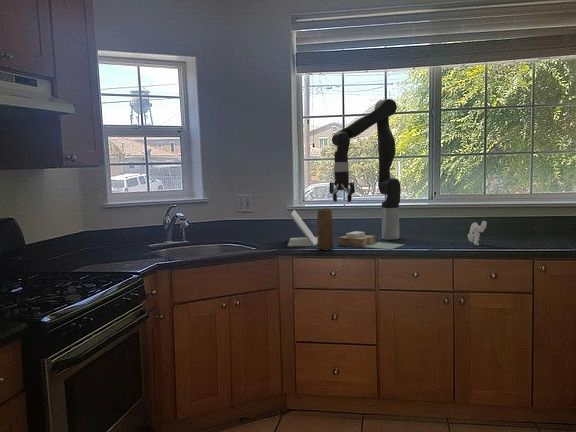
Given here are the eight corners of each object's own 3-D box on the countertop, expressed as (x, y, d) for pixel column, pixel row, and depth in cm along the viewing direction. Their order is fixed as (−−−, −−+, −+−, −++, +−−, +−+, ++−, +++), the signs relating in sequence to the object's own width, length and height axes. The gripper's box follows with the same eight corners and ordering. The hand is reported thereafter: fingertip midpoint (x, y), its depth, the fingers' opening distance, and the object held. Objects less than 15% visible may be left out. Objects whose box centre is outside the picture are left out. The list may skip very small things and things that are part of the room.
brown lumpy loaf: (333, 250, 256) (332, 209, 253) (318, 250, 256) (317, 210, 254) (332, 246, 266) (331, 207, 264) (317, 247, 266) (316, 208, 264)
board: (352, 241, 281) (352, 234, 281) (375, 243, 272) (375, 235, 272) (338, 245, 270) (338, 237, 270) (361, 247, 261) (361, 239, 261)
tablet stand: (287, 246, 272) (286, 214, 270) (290, 239, 297) (289, 209, 295) (322, 246, 270) (321, 213, 269) (322, 238, 295) (321, 208, 293)
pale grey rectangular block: (355, 235, 277) (355, 231, 277) (364, 235, 273) (364, 232, 273) (345, 237, 270) (345, 233, 270) (355, 238, 266) (355, 234, 266)
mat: (377, 242, 274) (377, 242, 274) (404, 245, 264) (404, 244, 264) (362, 247, 262) (362, 246, 262) (390, 249, 252) (390, 249, 252)
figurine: (488, 244, 258) (488, 220, 256) (481, 246, 255) (481, 221, 253) (470, 242, 266) (471, 219, 265) (464, 243, 263) (464, 220, 262)
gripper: (357, 170, 271) (357, 201, 273) (334, 170, 280) (334, 200, 281) (349, 171, 265) (350, 202, 267) (326, 171, 274) (326, 202, 276)
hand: (342, 201), depth 274 cm, fingers open, 8 cm apart
